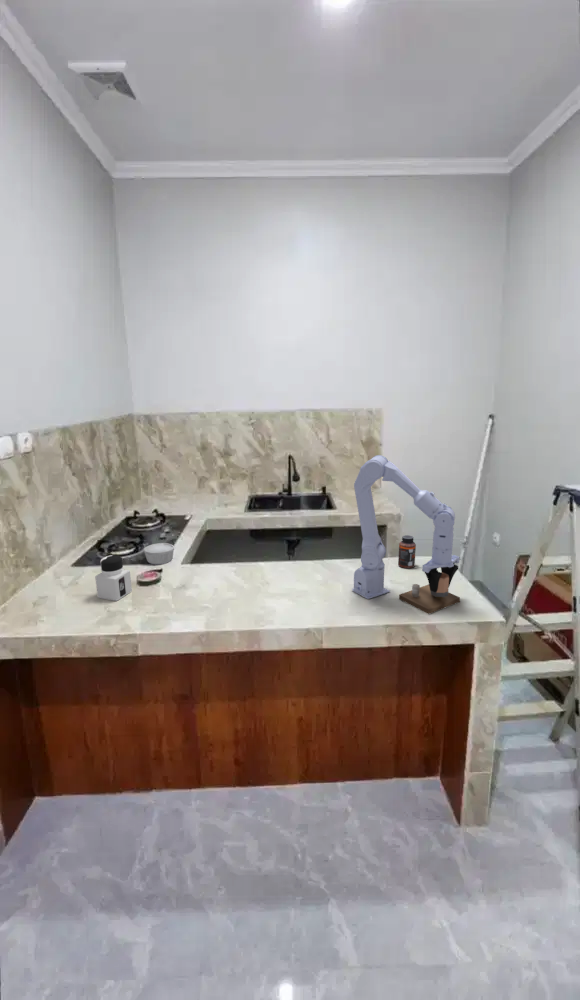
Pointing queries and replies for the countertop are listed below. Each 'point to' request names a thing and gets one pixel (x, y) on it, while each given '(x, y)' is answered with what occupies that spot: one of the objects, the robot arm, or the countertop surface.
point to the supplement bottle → (407, 552)
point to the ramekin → (159, 553)
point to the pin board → (427, 599)
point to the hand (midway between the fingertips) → (439, 588)
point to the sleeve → (442, 586)
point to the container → (113, 579)
